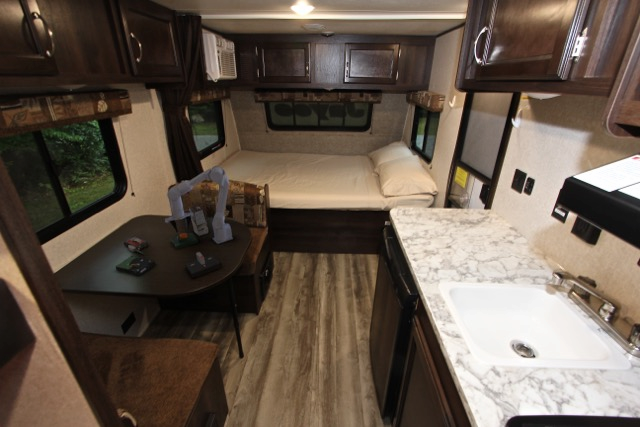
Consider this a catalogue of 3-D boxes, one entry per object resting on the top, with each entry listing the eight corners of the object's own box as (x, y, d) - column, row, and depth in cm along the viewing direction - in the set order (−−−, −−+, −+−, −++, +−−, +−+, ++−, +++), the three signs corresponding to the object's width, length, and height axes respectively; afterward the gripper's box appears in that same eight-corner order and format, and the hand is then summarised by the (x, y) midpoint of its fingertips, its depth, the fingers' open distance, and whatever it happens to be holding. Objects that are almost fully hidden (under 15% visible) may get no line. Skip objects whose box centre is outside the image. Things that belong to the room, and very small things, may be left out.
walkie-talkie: (120, 247, 165) (142, 256, 157) (118, 240, 163) (140, 249, 155) (135, 240, 172) (157, 249, 164) (133, 233, 170) (155, 242, 162)
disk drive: (156, 264, 150) (133, 259, 154) (154, 260, 149) (132, 255, 153) (139, 276, 141) (115, 270, 145) (138, 272, 140) (114, 266, 144)
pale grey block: (197, 259, 150) (195, 252, 148) (200, 258, 151) (199, 251, 149) (201, 265, 145) (200, 257, 144) (205, 263, 147) (203, 256, 145)
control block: (192, 236, 177) (191, 230, 176) (198, 242, 171) (197, 236, 169) (171, 242, 170) (170, 236, 169) (176, 249, 164) (175, 243, 162)
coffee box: (209, 232, 181) (205, 209, 174) (198, 236, 177) (194, 212, 170) (203, 227, 187) (199, 204, 181) (193, 230, 183) (188, 207, 177)
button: (186, 234, 171) (185, 232, 171) (188, 237, 169) (187, 234, 168) (179, 236, 169) (178, 234, 168) (181, 239, 166) (180, 236, 166)
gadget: (211, 257, 157) (210, 252, 156) (220, 267, 149) (220, 262, 147) (184, 267, 149) (183, 262, 147) (193, 278, 140) (191, 273, 139)
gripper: (165, 214, 154) (170, 236, 160) (193, 207, 163) (197, 229, 168) (161, 210, 159) (167, 232, 165) (189, 203, 168) (193, 224, 173)
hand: (182, 230), depth 167 cm, fingers open, 5 cm apart
